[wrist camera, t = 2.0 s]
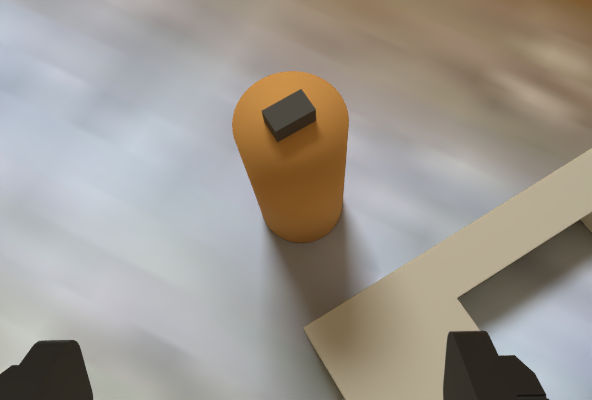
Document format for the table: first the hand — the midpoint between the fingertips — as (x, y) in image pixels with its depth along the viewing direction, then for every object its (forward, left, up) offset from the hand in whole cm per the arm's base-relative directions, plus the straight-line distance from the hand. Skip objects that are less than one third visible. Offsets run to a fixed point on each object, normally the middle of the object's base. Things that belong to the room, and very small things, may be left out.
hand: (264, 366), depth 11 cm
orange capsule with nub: (+5, +9, -20) cm, 23 cm away
